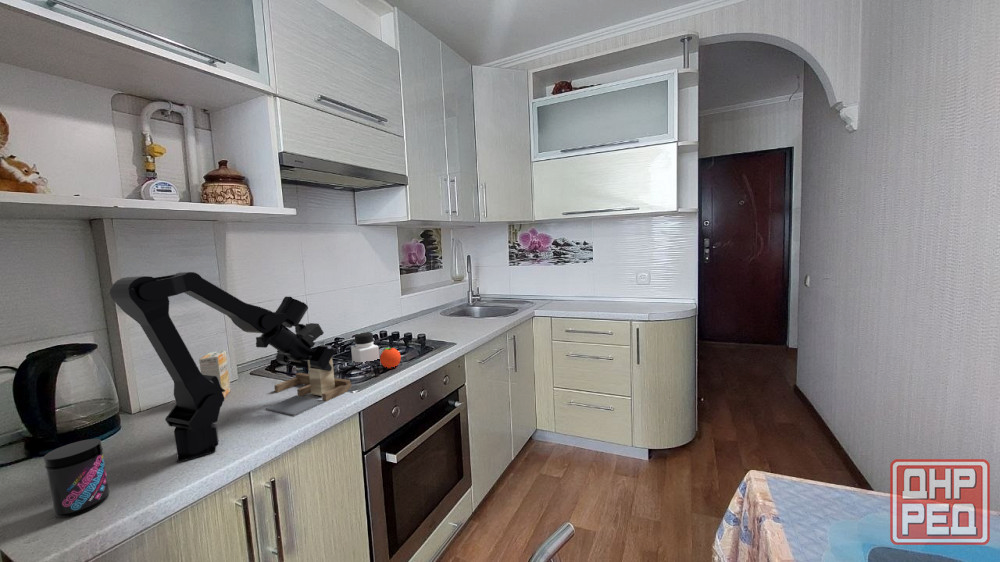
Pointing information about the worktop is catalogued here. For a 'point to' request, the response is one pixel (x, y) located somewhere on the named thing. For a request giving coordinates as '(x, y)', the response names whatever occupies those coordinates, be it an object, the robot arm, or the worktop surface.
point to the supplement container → (77, 477)
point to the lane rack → (303, 378)
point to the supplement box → (216, 368)
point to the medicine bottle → (364, 348)
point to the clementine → (390, 357)
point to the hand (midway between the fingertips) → (325, 368)
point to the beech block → (321, 380)
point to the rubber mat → (295, 405)
